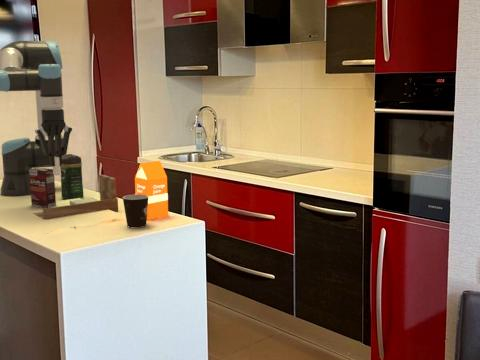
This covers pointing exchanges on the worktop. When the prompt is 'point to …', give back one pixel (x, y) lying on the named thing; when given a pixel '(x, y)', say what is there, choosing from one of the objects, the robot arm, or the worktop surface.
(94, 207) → the shelf
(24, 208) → the worktop surface
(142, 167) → the orange juice
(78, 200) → the bookend
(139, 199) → the coffee mug
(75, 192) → the coffee jar
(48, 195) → the supplement box
